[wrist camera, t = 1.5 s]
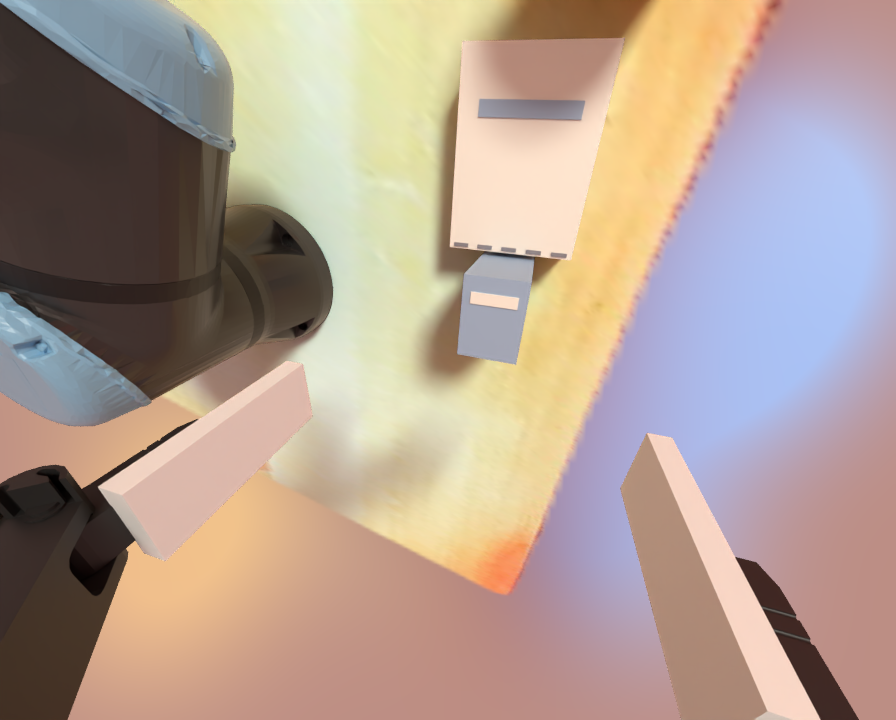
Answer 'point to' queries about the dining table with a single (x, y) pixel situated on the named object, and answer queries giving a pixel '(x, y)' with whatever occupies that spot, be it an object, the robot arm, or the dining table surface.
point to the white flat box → (528, 141)
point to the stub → (495, 306)
